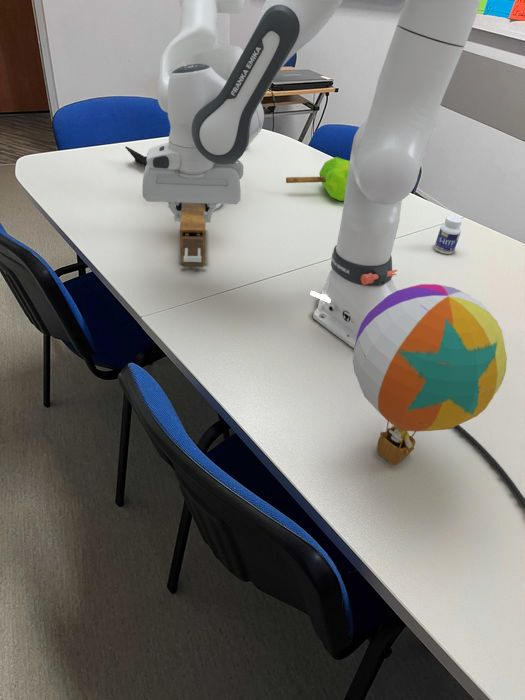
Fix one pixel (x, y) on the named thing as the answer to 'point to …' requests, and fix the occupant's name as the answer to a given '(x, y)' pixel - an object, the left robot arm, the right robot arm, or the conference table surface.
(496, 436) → the conference table surface
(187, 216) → the cabinet
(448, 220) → the pill bottle
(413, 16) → the right robot arm
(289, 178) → the decorative tree
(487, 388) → the toy
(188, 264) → the drawer
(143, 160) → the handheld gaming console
